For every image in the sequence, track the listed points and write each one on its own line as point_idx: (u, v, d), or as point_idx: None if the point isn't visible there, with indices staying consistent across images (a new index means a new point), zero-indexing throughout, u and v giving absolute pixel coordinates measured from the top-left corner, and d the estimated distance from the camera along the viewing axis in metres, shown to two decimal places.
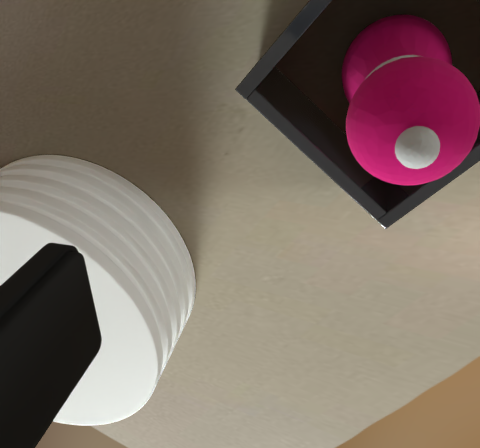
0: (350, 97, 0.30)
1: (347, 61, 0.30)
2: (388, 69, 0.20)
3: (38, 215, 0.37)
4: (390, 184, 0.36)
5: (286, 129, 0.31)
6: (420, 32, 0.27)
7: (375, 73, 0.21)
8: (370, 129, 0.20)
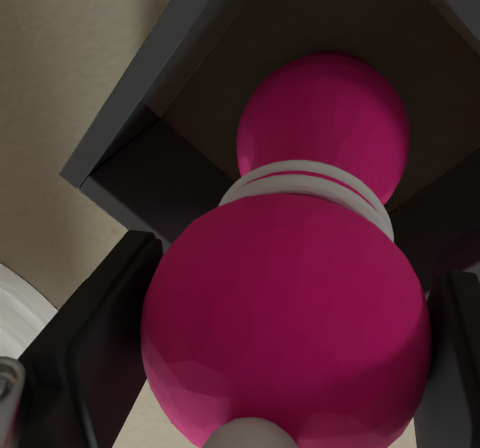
0: None
1: (239, 129, 0.18)
2: (203, 237, 0.08)
3: None
4: None
5: None
6: (348, 91, 0.16)
7: (187, 233, 0.09)
8: (160, 384, 0.08)
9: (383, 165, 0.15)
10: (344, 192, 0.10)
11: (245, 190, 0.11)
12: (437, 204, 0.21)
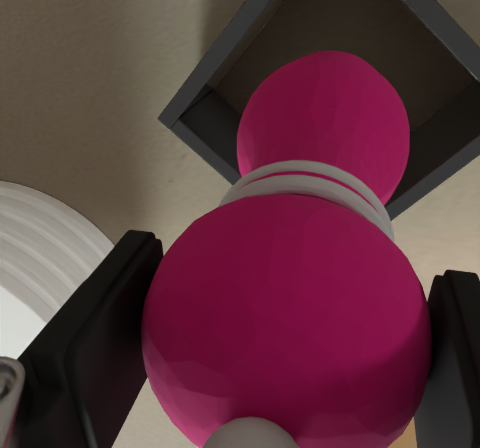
0: None
1: (239, 129, 0.18)
2: (203, 237, 0.08)
3: None
4: None
5: (214, 162, 0.29)
6: (348, 91, 0.16)
7: (187, 233, 0.09)
8: (161, 384, 0.08)
9: (384, 165, 0.15)
10: (344, 192, 0.10)
11: (246, 190, 0.11)
12: (412, 146, 0.31)
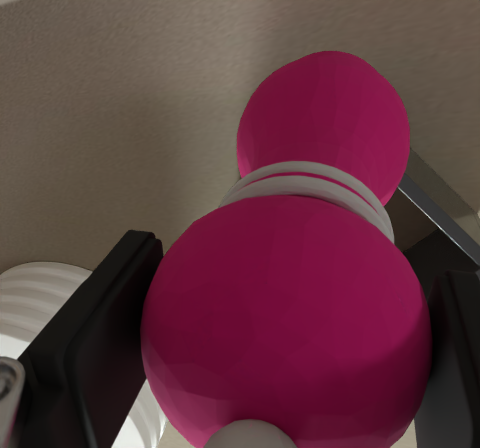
0: None
1: (239, 130, 0.18)
2: (203, 238, 0.08)
3: None
4: None
5: None
6: (348, 92, 0.16)
7: (186, 234, 0.09)
8: (161, 386, 0.08)
9: (384, 165, 0.15)
10: (344, 193, 0.10)
11: (245, 191, 0.11)
12: (410, 263, 0.39)
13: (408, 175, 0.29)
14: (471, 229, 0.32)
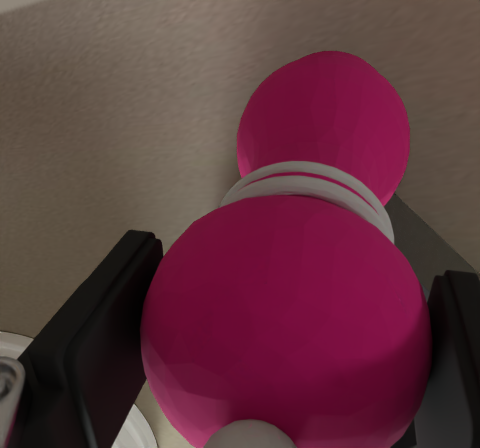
0: None
1: (239, 130, 0.18)
2: (203, 238, 0.08)
3: None
4: None
5: None
6: (348, 92, 0.16)
7: (186, 235, 0.09)
8: (160, 386, 0.08)
9: (384, 166, 0.15)
10: (344, 193, 0.10)
11: (245, 191, 0.11)
12: None
13: (429, 289, 0.21)
14: None
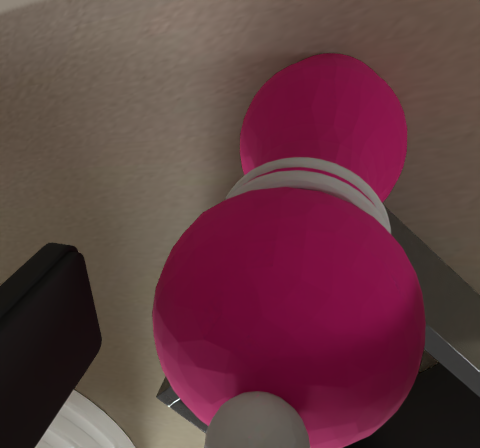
0: None
1: (242, 129, 0.19)
2: (213, 227, 0.09)
3: None
4: None
5: None
6: (348, 92, 0.16)
7: (197, 224, 0.09)
8: (173, 363, 0.09)
9: (382, 163, 0.16)
10: (344, 187, 0.11)
11: (250, 185, 0.11)
12: (430, 397, 0.29)
13: (436, 330, 0.19)
14: None
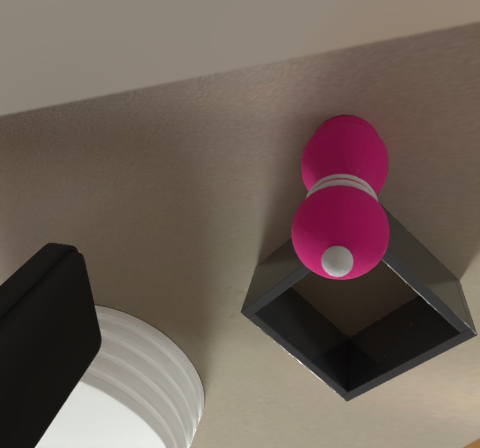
0: (306, 186, 0.37)
1: (304, 157, 0.37)
2: (319, 197, 0.27)
3: (91, 377, 0.50)
4: (352, 361, 0.49)
5: (276, 338, 0.44)
6: (359, 142, 0.34)
7: (311, 197, 0.27)
8: (305, 242, 0.27)
9: (375, 176, 0.34)
10: (360, 186, 0.29)
11: (323, 185, 0.29)
12: (404, 320, 0.47)
13: (403, 262, 0.37)
14: (453, 301, 0.40)
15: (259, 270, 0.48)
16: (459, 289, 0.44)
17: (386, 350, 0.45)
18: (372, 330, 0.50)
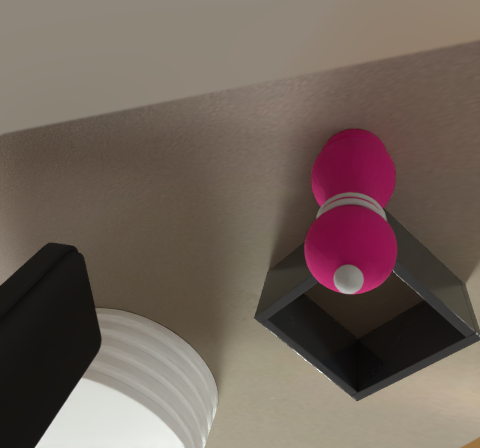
0: None
1: (314, 172, 0.38)
2: (330, 218, 0.28)
3: (111, 379, 0.52)
4: (361, 362, 0.51)
5: (288, 342, 0.46)
6: (367, 158, 0.36)
7: (323, 217, 0.29)
8: (318, 260, 0.28)
9: (383, 191, 0.36)
10: (369, 204, 0.30)
11: (334, 203, 0.31)
12: (411, 322, 0.48)
13: (410, 271, 0.39)
14: (458, 306, 0.41)
15: (271, 276, 0.50)
16: (465, 293, 0.45)
17: (394, 352, 0.47)
18: (380, 332, 0.51)
